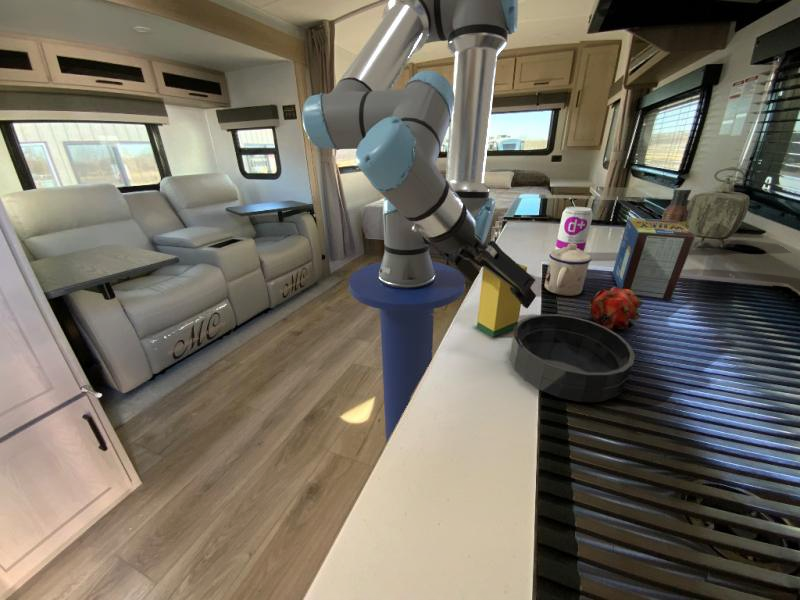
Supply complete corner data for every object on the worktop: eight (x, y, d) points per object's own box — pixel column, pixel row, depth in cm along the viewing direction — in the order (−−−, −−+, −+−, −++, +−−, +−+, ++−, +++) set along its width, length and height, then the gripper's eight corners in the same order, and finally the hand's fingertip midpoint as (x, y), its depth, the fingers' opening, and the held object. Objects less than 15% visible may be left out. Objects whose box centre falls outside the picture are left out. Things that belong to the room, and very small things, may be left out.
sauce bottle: (678, 252, 107) (702, 189, 99) (671, 256, 104) (695, 191, 95) (654, 248, 112) (675, 186, 103) (647, 251, 109) (668, 188, 100)
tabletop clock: (731, 248, 111) (766, 168, 100) (725, 254, 106) (762, 170, 94) (678, 239, 121) (705, 166, 110) (671, 244, 116) (698, 167, 104)
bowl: (528, 330, 66) (532, 305, 63) (629, 361, 56) (639, 333, 54) (493, 375, 54) (497, 346, 51) (615, 424, 44) (627, 392, 42)
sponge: (476, 327, 67) (483, 267, 61) (500, 318, 70) (508, 260, 65) (493, 337, 64) (501, 274, 58) (517, 327, 67) (527, 266, 61)
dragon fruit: (621, 321, 71) (599, 350, 65) (592, 292, 73) (567, 317, 67) (658, 302, 64) (638, 332, 58) (625, 270, 66) (601, 296, 60)
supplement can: (580, 262, 100) (593, 212, 94) (551, 257, 104) (561, 209, 98) (583, 254, 107) (595, 207, 100) (556, 251, 111) (565, 205, 104)
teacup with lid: (548, 279, 89) (556, 237, 84) (585, 286, 84) (596, 242, 79) (535, 295, 80) (544, 249, 75) (576, 304, 75) (589, 256, 70)
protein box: (656, 277, 89) (676, 220, 82) (671, 301, 76) (696, 235, 69) (611, 272, 93) (627, 216, 86) (618, 293, 80) (638, 230, 73)
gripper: (384, 223, 58) (446, 282, 72) (489, 263, 39) (546, 333, 53) (409, 189, 58) (466, 255, 72) (526, 212, 39) (572, 295, 53)
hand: (500, 288), depth 63 cm, fingers open, 13 cm apart
